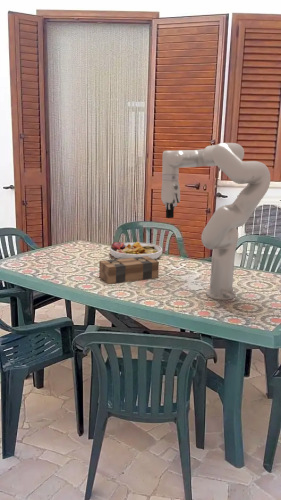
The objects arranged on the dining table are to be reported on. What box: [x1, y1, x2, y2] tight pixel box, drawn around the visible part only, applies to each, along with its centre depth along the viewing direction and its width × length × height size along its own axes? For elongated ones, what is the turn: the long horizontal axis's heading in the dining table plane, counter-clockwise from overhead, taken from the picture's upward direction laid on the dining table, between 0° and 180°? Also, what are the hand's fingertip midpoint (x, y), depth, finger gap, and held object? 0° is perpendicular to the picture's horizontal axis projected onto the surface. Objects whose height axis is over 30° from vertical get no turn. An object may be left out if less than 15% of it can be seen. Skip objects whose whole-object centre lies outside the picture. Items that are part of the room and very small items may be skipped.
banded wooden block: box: [98, 256, 160, 285], centre depth 218 cm, size 12×26×8 cm, turn 116°
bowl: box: [109, 241, 163, 260], centre depth 259 cm, size 30×30×8 cm
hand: (169, 217), depth 211 cm, fingers closed
